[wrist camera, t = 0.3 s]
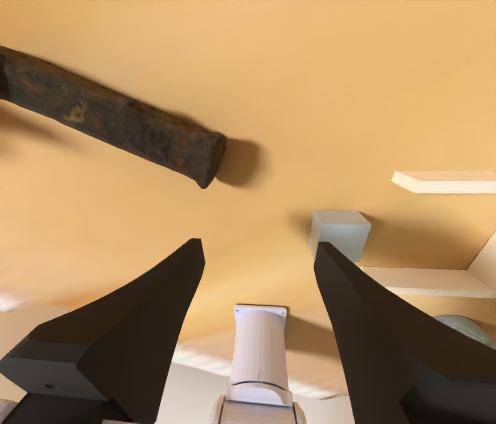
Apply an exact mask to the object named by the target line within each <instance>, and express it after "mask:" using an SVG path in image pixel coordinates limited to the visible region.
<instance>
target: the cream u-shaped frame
mask: <svg viewBox="0 0 496 424" xmlns="http://www.w3.org/2000/svg"><path fill="white" fill-rule="evenodd" d="M392 182H394V183H396V184H398V185H400V186H402V187H404V188H406V189H408V190H410V191H412V192H414V193H496V170H456V171H395V173H394V176H393V178H392ZM360 269H361V270H362V271H364V272H365V273H366V274H367V275H369V276H370V277H371V278H373V279H374V280H375V281H377V282H378V283H379V284H381V285H382V286H384V287H385V288H386V289H388V290H389V291H391V292H392V293H394V294H412V295H433V296H455V297H476V298H496V231H495V233H494V234H493V235H492V237H491V238H490V239H489V241H488V242H487V244H486V245H485V246H484V248H483V249H482V250H481V252H480V253H479V254H478V256H477V257H476V258H475V260H474V261H473V262H472V264H471V265H470V266H469V268H468V269H467V270H451V269H422V268H394V267H365V266H361V267H360Z"/></svg>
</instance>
